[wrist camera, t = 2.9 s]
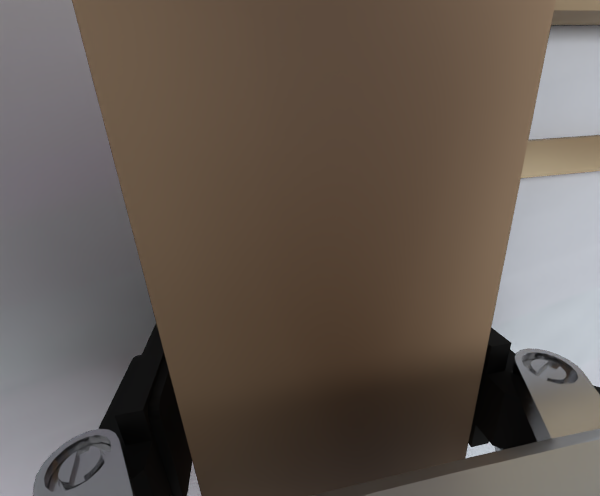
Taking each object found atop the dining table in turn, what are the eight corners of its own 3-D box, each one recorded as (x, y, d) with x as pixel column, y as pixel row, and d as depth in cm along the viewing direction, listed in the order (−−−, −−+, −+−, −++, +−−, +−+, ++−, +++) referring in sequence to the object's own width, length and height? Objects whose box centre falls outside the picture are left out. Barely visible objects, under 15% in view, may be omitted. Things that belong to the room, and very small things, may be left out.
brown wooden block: (247, 467, 14) (250, 684, 8) (178, 73, 8) (58, -51, 3) (360, 442, 15) (432, 624, 9) (368, 67, 9) (562, -36, 4)
